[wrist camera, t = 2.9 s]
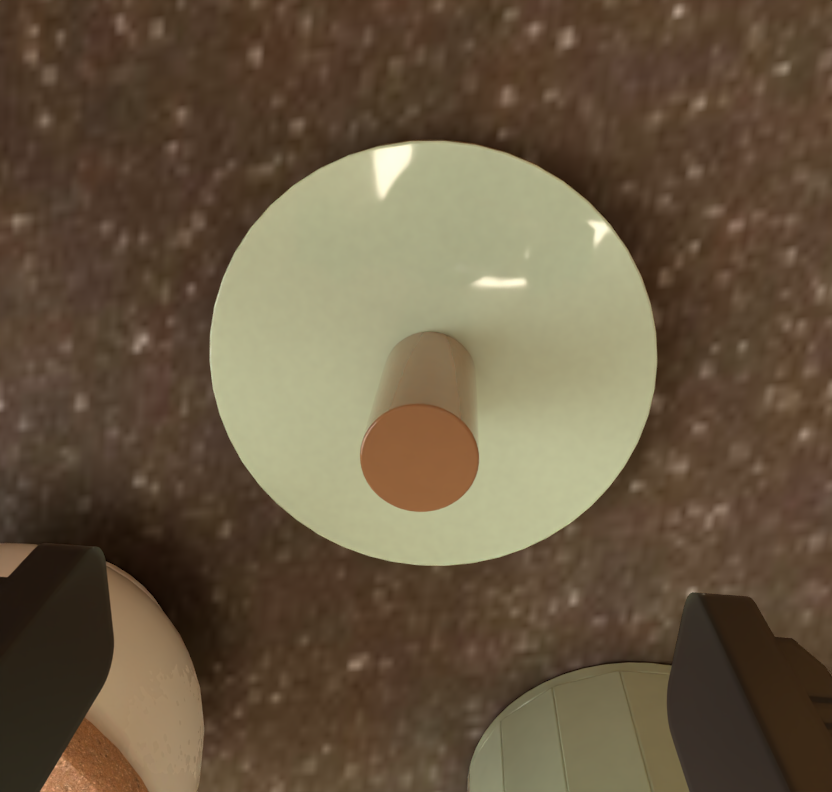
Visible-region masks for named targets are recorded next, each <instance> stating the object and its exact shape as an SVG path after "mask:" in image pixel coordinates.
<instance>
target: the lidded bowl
mask: <svg viewBox="0 0 832 792" xmlns="http://www.w3.org/2000/svg"><path fill="white" fill-rule="evenodd" d="M37 546H38V545H36V544H21V543H0V577H8V576H9V575H10V574H11V573H12V572H13V571H14V570H15V569H16V568H17V567H18V566H19V565H20V564H21V562H22V561H23V560H24V559H25V558H26V557H27V556H28V555H29V554H30V553H31V552H32V551H33V550H34V549H35V548H36V547H37ZM106 568H107V577H108V587H109V596H110V605H111V614H112V624H113V633H114V652H113V659H112V664H111V668H110V671H109V674H108V677H107V679H106V682H105V684H104V686H103V688H102V689H101V691H100V693H99V694H98V696H97V698H96V699H95V701H94V703H93V704H92V706H91V708H90V709H89V711H88V713H87V714H86V716H85V718H84V719H83V721H82V723H81V724H80V726H79V727H78V729H77V731H76V732H75V734H74V736H73V737H72V739H71V741H70V742H69V744H68V746H67V747H66V749H65V751H64V752H63V754H62V756H61V757H60V759H59V761H58V762H57V764H56V766H55V767H54V769H53V771H52V772H51V774H50V776H49V777H48V779H47V781H46V782H45V784H44V786H43V787H42V789H41V791H40V792H197V790H198V785H199V780H200V771H201V761H202V751H203V740H204V721H203V711H202V701H201V692H200V686H199V682H198V679H197V676H196V672H195V669H194V666H193V663H192V660H191V658H190V655H189V652H188V650H187V648H186V646H185V644H184V642H183V640H182V638H181V636H180V634H179V632H178V631H177V630H176V628H175V627H174V625H173V624H172V623H171V621H170V620H169V618H168V617H167V615H166V614H165V613H164V612H163V610H162V609H161V607H160V606H159V604H158V603H157V601H156V600H155V599H154V597H153V596H152V595H151V594H150V593H149V592H148V591H147V590H146V588H145V587H144V586H143V585H142V584H140V583H139V582H138V581H137V580H136V579H134V578H133V577H132V576H131V575H129V574H128V573H126V572H125V571H123V570H121V569H120V568H118V567H117V566H115V565H113V564H111V563H109V562H106Z"/></svg>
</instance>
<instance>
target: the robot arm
mask: <svg viewBox="0 0 832 792" xmlns="http://www.w3.org/2000/svg"><path fill="white" fill-rule="evenodd" d="M113 652H114V633H113V624H112V614H111V605H110V596H109V587H108V577H107V568H106V560H105V556H104V553H103V551H102V550H101V549H100V548H99V547H95V546H82V545H68V544H55V543H41V544H40V545H38V546H37V547H36V548H35V549H34V550H33V551H32V552H31V553H30V554H29V555H28V556H27V557H26V558H25V559H24V560H23V561H22V562H21V564H20V565H19V566H18V567H17V568H16V569H15V570H14V571H13V572H12V573H11V574H10V575H9V576H8V577H0V792H40V791H41V789H42V787H43V786H44V784H45V782H46V781H47V779H48V777H49V776H50V774H51V772H52V771H53V769H54V767H55V766H56V764H57V762H58V761H59V759H60V757H61V756H62V754H63V752H64V751H65V749H66V747H67V746H68V744H69V742H70V741H71V739H72V737H73V736H74V734H75V732H76V731H77V729H78V727H79V726H80V724H81V723H82V721H83V719H84V718H85V716H86V714H87V713H88V711H89V709H90V708H91V706H92V704H93V703H94V701H95V699H96V698H97V696H98V694H99V693H100V691H101V689H102V688H103V686H104V684H105V682H106V679H107V677H108V674H109V671H110V668H111V664H112V659H113ZM667 716H668V723H669V729H670V733H671V736H672V739H673V742H674V745H675V749H676V752H677V755H678V758H679V761H680V764H681V767H682V770H683V773H684V776H685V779H686V783H687V786H688V789H689V792H832V676H831V675H830V673H829V672H828V670H827V669H826V667H825V666H824V665H823V664H821V663H820V662H819V661H818V660H817V659H816V658H814V657H813V656H812V655H811V654H810V653H809V652H807V651H806V650H805V649H804V648H803V647H802V646H800V645H799V644H798V643H797V642H796V641H795V640H793V639H792V638H779V637H774V635H773V633H772V632H771V630H770V628H769V626H768V625H767V623H766V621H765V619H764V618H763V616H762V614H761V612H760V611H759V609H758V607H757V605H756V604H755V602H754V601H753V600H752V599H751V598H750V597H746V596H733V595H719V594H706V593H691V594H690V595H689V596H688V597H687V599H686V602H685V605H684V609H683V614H682V619H681V623H680V628H679V633H678V638H677V643H676V647H675V652H674V657H673V662H672V667H671V671H670V676H669V681H668V687H667Z"/></svg>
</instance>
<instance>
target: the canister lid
mask: <svg viewBox="0 0 832 792" xmlns="http://www.w3.org/2000/svg"><path fill="white" fill-rule="evenodd" d="M209 361H210V369H211V378H212V386H213V391H214V395H215V399H216V403H217V406H218V410H219V414H220V417H221V419H222V422H223V424H224V427H225V429H226V432H227V434H228V437H229V439H230V441H231V443H232V444H233V446H234V448H235V450H236V452H237V453H238V455H239V457H240V459H241V461H242V462H243V464H244V465H245V466H246V468H247V469H248V471H249V472H250V473H251V475H252V476H253V477H254V479H255V480H256V482H257V483H258V484H259V485H260V486H261V487H262V488H263V489H264V491H265V492H266V493H267V494H268V495H269V496H270V497H271V498H272V499H273V500H274V501H275V502H276V503H277V504H278V505H279V506H280V507H282V508H283V509H284V510H285V511H286V512H288V513H289V514H290V515H291V516H292V517H293V518H295V519H296V520H297V521H299V522H300V523H302V524H303V525H305V526H306V527H308V528H309V529H311V530H312V531H314V532H315V533H317V534H318V535H320V536H322V537H324V538H326V539H328V540H330V541H332V542H334V543H336V544H338V545H340V546H342V547H345V548H348V549H350V550H353V551H356V552H359V553H361V554H364V555H367V556H371V557H375V558H379V559H383V560H387V561H391V562H397V563H405V564H412V565H429V566H448V565H459V564H469V563H475V562H480V561H485V560H490V559H494V558H498V557H501V556H504V555H507V554H510V553H513V552H516V551H519V550H522V549H525V548H527V547H529V546H531V545H533V544H535V543H537V542H539V541H542V540H544V539H546V538H548V537H549V536H551V535H552V534H554V533H556V532H557V531H559V530H560V529H562V528H564V527H565V526H567V525H568V524H570V523H571V522H572V521H574V520H575V519H576V518H577V517H579V516H580V515H581V514H582V513H583V512H585V511H586V510H587V509H588V508H590V507H591V506H592V505H593V504H594V503H595V502H596V500H597V499H598V498H599V497H600V496H601V495H602V494H603V493H604V492H605V491H606V490H607V489H608V488H609V487H610V485H611V484H612V483H613V481H614V480H615V479H616V477H617V476H618V475H619V473H620V472H621V471H622V469H623V468H624V466H625V465H626V463H627V461H628V460H629V458H630V456H631V454H632V452H633V450H634V449H635V447H636V445H637V443H638V441H639V439H640V436H641V434H642V431H643V429H644V426H645V423H646V421H647V418H648V416H649V412H650V407H651V403H652V399H653V395H654V391H655V383H656V373H657V362H658V358H657V335H656V328H655V322H654V317H653V312H652V306H651V302H650V299H649V296H648V294H647V291H646V288H645V285H644V282H643V279H642V276H641V274H640V272H639V270H638V268H637V266H636V264H635V262H634V260H633V258H632V256H631V254H630V252H629V250H628V249H627V247H626V246H625V244H624V243H623V242H622V240H621V239H620V237H619V236H618V234H617V233H616V232H615V230H614V229H613V227H612V226H611V224H610V223H609V222H608V221H607V220H606V219H605V218H604V217H603V216H602V215H601V214H600V213H599V212H598V211H597V209H596V208H595V207H594V206H593V205H592V204H591V203H590V202H589V201H588V200H587V199H586V198H584V197H583V196H582V195H581V194H579V193H578V192H577V191H576V190H574V189H573V188H572V187H571V186H569V185H568V184H567V183H566V182H564V181H563V180H562V179H560V178H558V177H557V176H555V175H553V174H552V173H550V172H548V171H547V170H545V169H543V168H541V167H540V166H538V165H536V164H535V163H532V162H530V161H527V160H525V159H523V158H520V157H518V156H516V155H513V154H511V153H508V152H506V151H502V150H498V149H495V148H491V147H487V146H483V145H480V144H476V143H468V142H460V141H452V140H444V139H442V140H408V141H402V142H396V143H389V144H383V145H378V146H375V147H372V148H368V149H365V150H362V151H358V152H355V153H352V154H349V155H347V156H345V157H343V158H340V159H338V160H336V161H334V162H332V163H330V164H327V165H325V166H323V167H321V168H319V169H318V170H316V171H315V172H313V173H311V174H310V175H308V176H307V177H305V178H304V179H302V180H301V181H299V182H297V183H296V184H294V185H293V186H292V187H291V188H289V189H288V190H287V191H286V192H285V193H284V194H282V195H281V196H280V197H279V198H278V199H277V200H276V201H274V202H273V203H272V204H271V205H270V206H269V207H268V208H267V209H266V211H265V212H264V213H263V214H262V215H261V216H260V217H259V219H258V220H257V221H256V222H255V223H254V224H253V225H252V226H251V228H250V229H249V231H248V232H247V234H246V235H245V237H244V238H243V240H242V242H241V243H240V245H239V246H238V248H237V249H236V251H235V252H234V255H233V257H232V259H231V261H230V263H229V265H228V267H227V270H226V272H225V274H224V276H223V278H222V282H221V285H220V288H219V291H218V295H217V298H216V301H215V304H214V310H213V317H212V323H211V329H210V357H209Z"/></svg>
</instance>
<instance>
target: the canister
mask: <svg viewBox="0 0 832 792" xmlns="http://www.w3.org/2000/svg"><path fill="white" fill-rule="evenodd" d="M671 667H672V666H671V665H664V664H656V663H637V662H626V663H613V664H604V665H598V666H593V667H588V668H583V669H579V670H576V671H573V672H569V673H566V674H563V675H560V676H558V677H556V678H553V679H551V680H549V681H546V682H544V683H542V684H540V685H538V686H537V687H535V688H533V689H531V690H530V691H528V692H526V693H524V694H523V695H522V696H520V697H519V698H518V699H516V700H515V701H514V702H512V703H511V704H510V705H509V706H508V707H506V708H505V709H504V710H503V711H502V712H501V713H500V714H499V715H498V716H497V717H496V718H495V720H494V721H493V722H492V723H491V725H490V726H489V727H488V729H487V730H486V731H485V733H484V734H483V736H482V738H481V740H480V741H479V743H478V745H477V747H476V749H475V752H474V755H473V757H472V760H471V763H470V768H469V774H468V785H467V792H689V789H688V786H687V783H686V779H685V776H684V773H683V770H682V767H681V764H680V761H679V758H678V755H677V752H676V749H675V745H674V742H673V739H672V736H671V733H670V729H669V723H668V716H667V687H668V681H669V676H670V671H671Z"/></svg>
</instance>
